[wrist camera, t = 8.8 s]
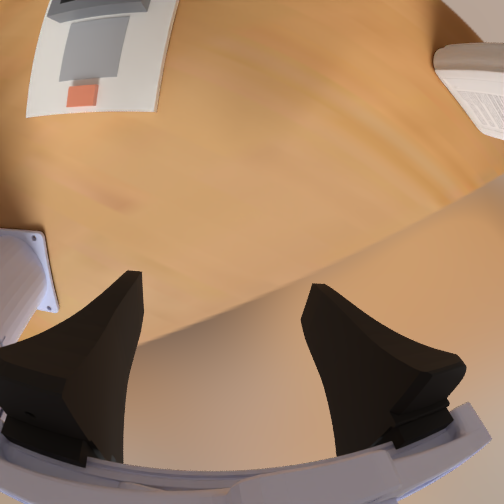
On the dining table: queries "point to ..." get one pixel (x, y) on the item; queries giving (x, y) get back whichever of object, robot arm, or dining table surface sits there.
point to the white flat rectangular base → (100, 56)
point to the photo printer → (475, 82)
